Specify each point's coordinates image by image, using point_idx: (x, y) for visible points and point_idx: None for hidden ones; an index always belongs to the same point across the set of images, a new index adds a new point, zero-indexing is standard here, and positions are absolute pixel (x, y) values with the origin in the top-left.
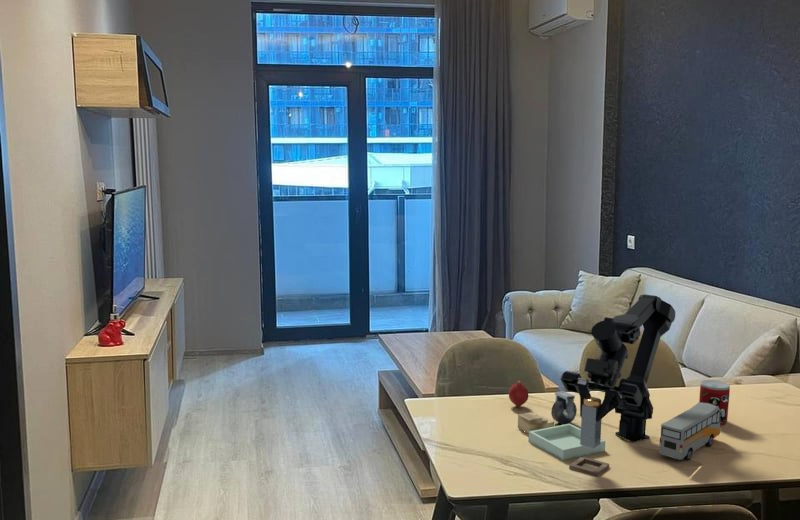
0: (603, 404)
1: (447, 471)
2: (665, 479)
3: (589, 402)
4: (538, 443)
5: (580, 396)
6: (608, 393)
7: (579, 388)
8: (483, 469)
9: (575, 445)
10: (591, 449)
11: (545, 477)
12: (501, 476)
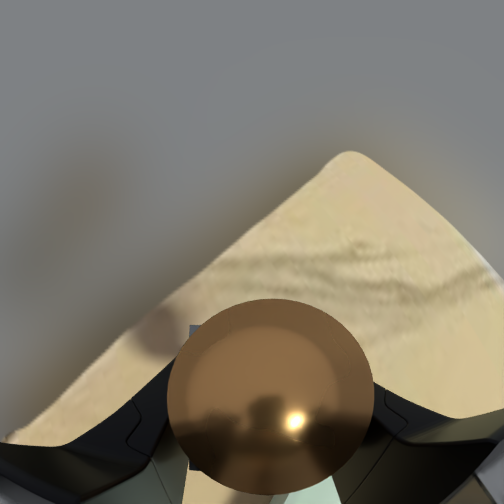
0: (147, 415)
1: (416, 199)
2: (52, 441)
3: (265, 301)
4: None
5: (421, 407)
6: (53, 469)
7: (492, 412)
8: (398, 235)
9: (338, 497)
10: (280, 496)
11: (297, 277)
12: (360, 227)
